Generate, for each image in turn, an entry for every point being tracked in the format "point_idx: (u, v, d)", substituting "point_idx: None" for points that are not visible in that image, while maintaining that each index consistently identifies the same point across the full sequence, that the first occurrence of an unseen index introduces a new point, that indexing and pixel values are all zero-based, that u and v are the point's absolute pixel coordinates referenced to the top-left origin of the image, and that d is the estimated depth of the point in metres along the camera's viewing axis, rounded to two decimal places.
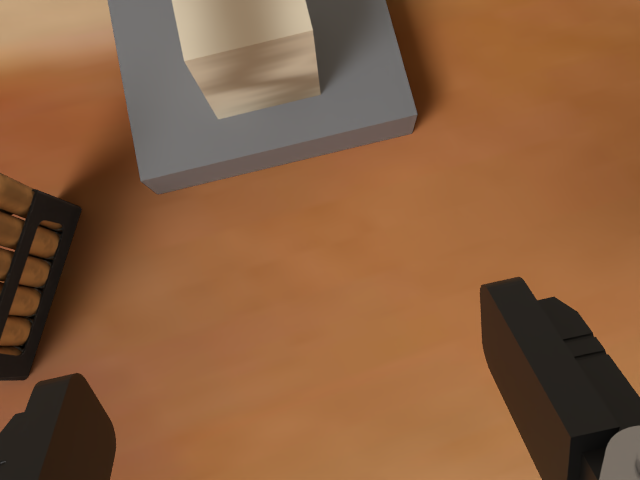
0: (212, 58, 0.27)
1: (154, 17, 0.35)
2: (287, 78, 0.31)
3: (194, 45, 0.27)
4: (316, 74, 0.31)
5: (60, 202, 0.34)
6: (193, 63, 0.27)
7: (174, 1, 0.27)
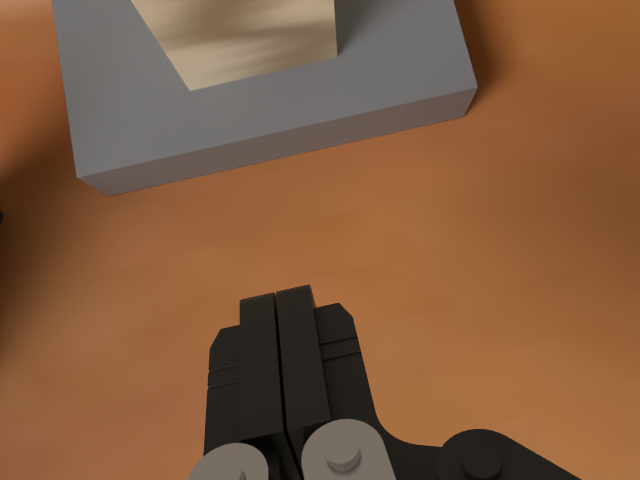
0: None
1: None
2: (289, 26, 0.20)
3: None
4: (332, 22, 0.21)
5: None
6: None
7: None
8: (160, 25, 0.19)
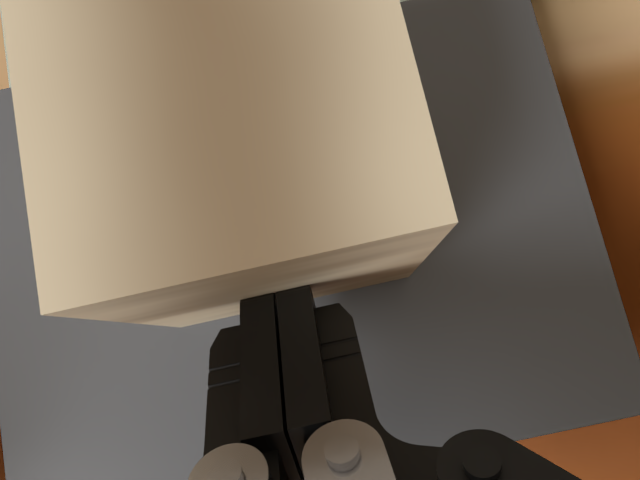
0: (134, 297, 0.09)
1: None
2: (347, 278, 0.12)
3: (75, 263, 0.08)
4: (416, 264, 0.13)
5: None
6: (75, 311, 0.09)
7: (22, 113, 0.09)
8: (127, 316, 0.11)
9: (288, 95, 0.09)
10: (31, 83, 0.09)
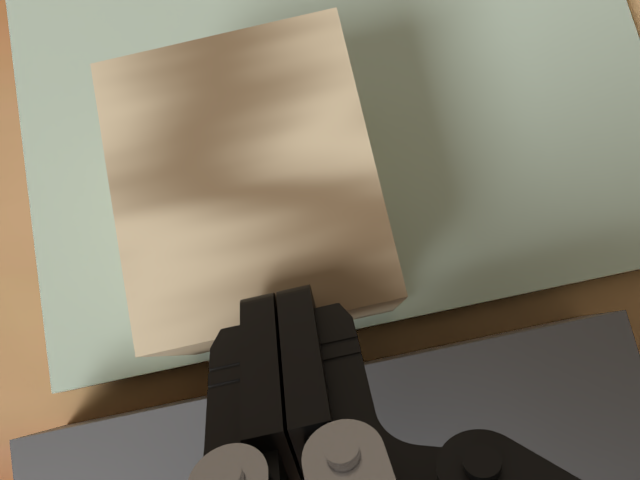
0: (142, 65, 0.14)
1: None
2: (305, 182, 0.13)
3: None
4: (375, 183, 0.13)
5: None
6: (105, 75, 0.14)
7: None
8: (119, 148, 0.14)
9: None
10: None
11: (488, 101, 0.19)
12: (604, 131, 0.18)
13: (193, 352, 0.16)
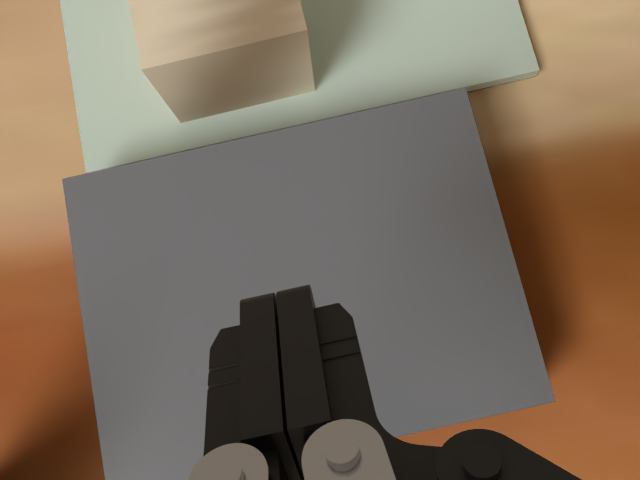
0: None
1: (135, 221, 0.22)
2: None
3: None
4: None
5: None
6: None
7: None
8: None
9: None
10: None
11: None
12: None
13: (178, 105, 0.24)
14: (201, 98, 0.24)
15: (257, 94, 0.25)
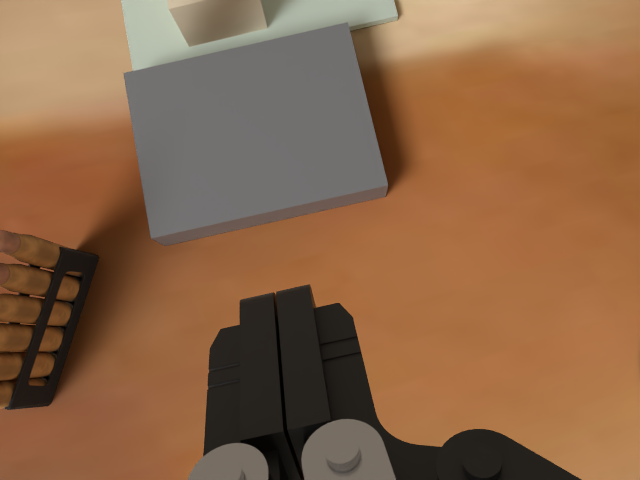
0: None
1: (164, 95, 0.41)
2: None
3: None
4: None
5: (81, 255, 0.39)
6: None
7: None
8: None
9: None
10: None
11: None
12: None
13: (187, 34, 0.42)
14: (201, 29, 0.42)
15: (233, 28, 0.43)
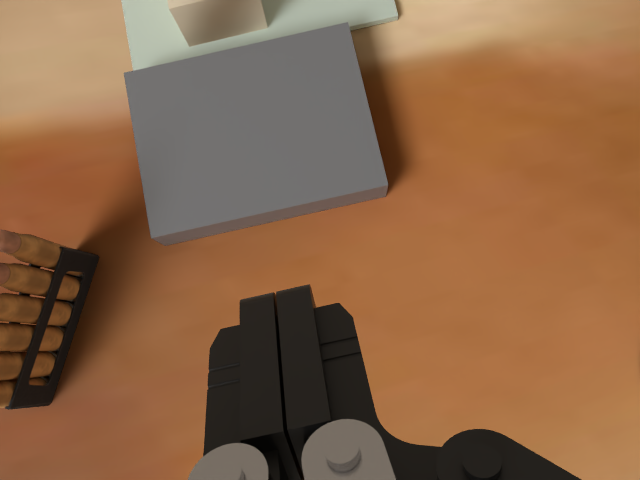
0: None
1: (164, 95, 0.41)
2: None
3: None
4: None
5: (82, 254, 0.39)
6: None
7: None
8: None
9: None
10: None
11: None
12: None
13: (188, 34, 0.42)
14: (201, 29, 0.42)
15: (233, 28, 0.43)
